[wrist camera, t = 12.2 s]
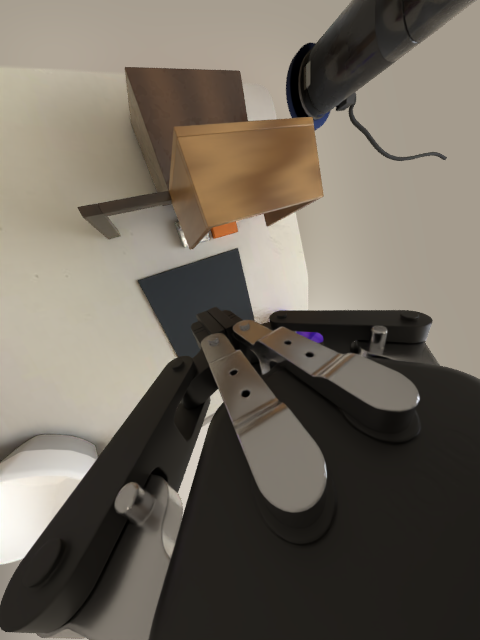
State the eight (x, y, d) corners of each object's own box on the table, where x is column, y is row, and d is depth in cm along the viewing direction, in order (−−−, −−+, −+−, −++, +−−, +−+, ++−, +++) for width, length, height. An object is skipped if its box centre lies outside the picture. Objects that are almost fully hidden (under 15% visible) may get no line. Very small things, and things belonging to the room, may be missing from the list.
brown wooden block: (214, 117, 28) (240, 70, 21) (230, 191, 33) (256, 174, 25) (130, 122, 24) (124, 66, 17) (162, 206, 29) (168, 191, 21)
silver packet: (210, 239, 33) (208, 240, 34) (203, 215, 31) (201, 216, 32) (184, 247, 31) (183, 247, 32) (175, 222, 29) (174, 223, 30)
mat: (237, 248, 37) (237, 248, 36) (260, 350, 50) (261, 351, 50) (137, 280, 31) (137, 280, 30) (194, 387, 44) (195, 388, 43)
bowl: (27, 410, 30) (-14, 467, 22) (126, 434, 40) (122, 479, 32) (-56, 494, 28) (-132, 587, 21) (68, 497, 38) (48, 561, 30)
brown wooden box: (312, 116, 16) (324, 196, 18) (235, 202, 33) (246, 238, 35) (2, 138, 9) (77, 262, 11) (104, 232, 26) (127, 275, 28)
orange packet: (238, 231, 35) (235, 232, 36) (233, 208, 33) (230, 209, 34) (215, 238, 33) (213, 238, 34) (208, 214, 31) (206, 215, 32)
